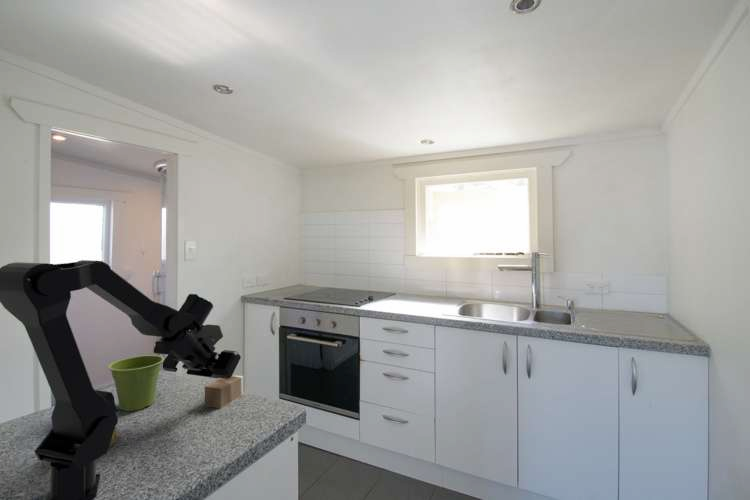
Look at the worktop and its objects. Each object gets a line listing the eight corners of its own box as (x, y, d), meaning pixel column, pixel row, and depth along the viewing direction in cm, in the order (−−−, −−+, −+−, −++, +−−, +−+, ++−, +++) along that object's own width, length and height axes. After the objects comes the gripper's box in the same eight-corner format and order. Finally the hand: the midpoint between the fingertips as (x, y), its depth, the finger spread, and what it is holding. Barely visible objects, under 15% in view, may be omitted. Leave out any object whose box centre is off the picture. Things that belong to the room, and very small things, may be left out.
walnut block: (221, 408, 89) (243, 394, 98) (221, 388, 89) (243, 376, 97) (204, 405, 90) (227, 391, 99) (204, 386, 90) (227, 374, 99)
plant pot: (156, 392, 98) (157, 352, 98) (169, 406, 90) (170, 362, 90) (103, 405, 89) (104, 361, 89) (112, 421, 81) (113, 373, 81)
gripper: (236, 319, 83) (262, 351, 94) (172, 314, 88) (203, 345, 99) (212, 362, 76) (243, 392, 87) (144, 354, 81) (181, 383, 91)
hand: (217, 376), depth 91 cm, fingers closed
